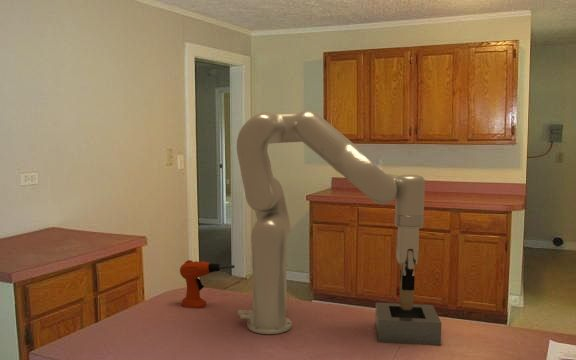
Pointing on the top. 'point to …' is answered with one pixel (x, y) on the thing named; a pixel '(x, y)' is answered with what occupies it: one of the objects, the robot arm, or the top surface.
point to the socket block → (407, 324)
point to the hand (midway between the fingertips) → (407, 286)
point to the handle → (406, 294)
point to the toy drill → (197, 280)
